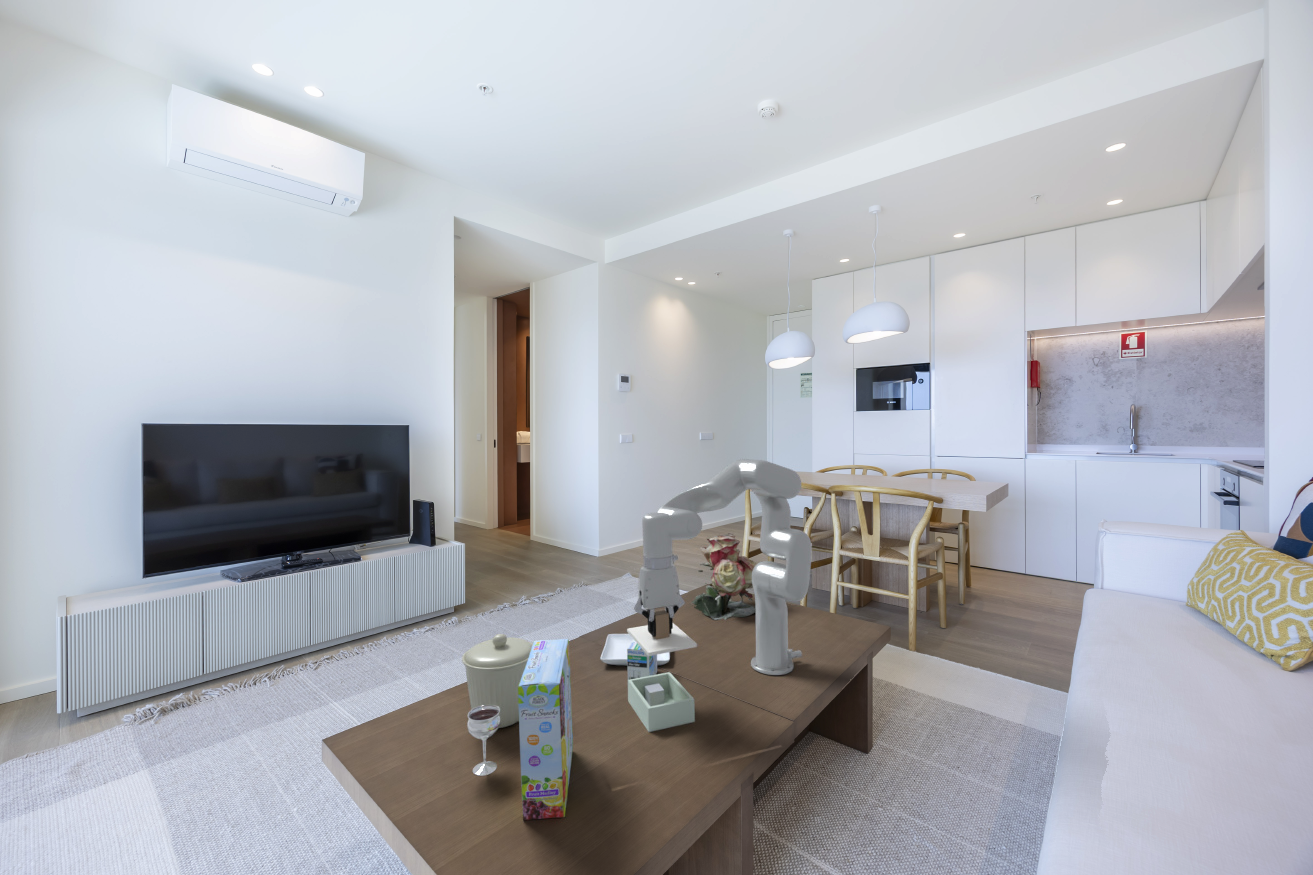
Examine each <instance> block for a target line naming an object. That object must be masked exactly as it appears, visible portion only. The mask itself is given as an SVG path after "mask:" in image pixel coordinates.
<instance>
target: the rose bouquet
mask: <svg viewBox="0 0 1313 875" xmlns="http://www.w3.org/2000/svg"><path fill="white" fill-rule="evenodd" d="M706 540H707V541H708V543H709V545H708V547H706V546H703V547H701V546H700V547H699V548H700V551H701V553H702V555H703V556H704V558H705V559H706V562H704V563H699V565H700V566H705V567H709V568H710V569H709V570H710V571H713V572H712V576H711V577H710V580H711V583H710V584H709V585H707V583H704V585H706V586H705V588H706V590H705V592H706V593H705V592H702V593H701V594H698V595H696V596H695V598H694V599H693V600H692V601H691V603H690V604H691V605H692V603H693V604H694V605H693V607H694V609H697V611H700V612H701V613H702V614H703V615H704V616H707V617H708V618H711V619H712V620H714V621H716V620H717V621H718V620H722V619H724V621H727V619H729V618H731V617H737V618H744V617H748V616H751V615H753V614H754V613H756V609H755V605H751V604H749V603H746V602H744V598H743V596H744V597H746V598H747V599H748V601H750V602H754V601H753V598H754V596H753V594H752V593H750V591H749V590H746V589H753V585H752V571H753V569H754V567H755V566H756V565H757V564H758V563H756V562H755V561H754V560H752V559H750V558H749V557H747V556H745V555H744V556H743V555H740V552H741V550H740V549H737V548H738V546H739V544H740V542H741V541H740V539H739V540H738V539H736V535H734V533H732V532H729V533H727V534H724V535H723V534H719V535H715V536H714V537H711V538H706ZM739 555H740V556H739ZM707 562H708V563H707ZM703 571H704V570H702V569H699V570H698V573H703ZM735 596H740V598H741V599H740V601H739V600H738V601H734V600H732V597H735ZM695 606H696V607H695ZM727 609H729V611H728V610H727Z"/></svg>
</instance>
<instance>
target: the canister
mask: <svg viewBox="0 0 1313 875" xmlns="http://www.w3.org/2000/svg"><path fill="white" fill-rule="evenodd" d="M532 645H533V642H531V641H528V640H526V639H524V638H520V637H510V636H509V637H508V636H507V635H505V634H504V633H498V634H495V635H494V636H493V638H491V639H487V640H484V641H482V642H479V643H477V644H475V645H473V646H471V648H469V649H468V650H466V651H465V652H464V653H463V655H462V657H461V662H462V664H463V665H464V668H465V676H466V683H467V690H468V696H469V703H470V711H471V710H472V709H474V708H476V707H479V706H483V705H495V706H497V707H499V709H500V712H499V716H500V719H501V720H500V725H499V728H498V729H502V728H506V727H510V726H513V725H515V724H516V723H519V707H518V686H519V684H520V681H521V678H522V675H523V672H524V669H525V667H526V664H527V661H528V658H529V655H530V652H531V648H532Z"/></svg>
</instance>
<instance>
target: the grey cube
mask: <svg viewBox="0 0 1313 875" xmlns="http://www.w3.org/2000/svg"><path fill="white" fill-rule="evenodd" d="M645 700H646V701H647V703H648V704H649V705H650V706H655V705H660V704H664V689H663V688H662V687H661V686H660V684H659V683H658V684H653V685H648V686H645Z"/></svg>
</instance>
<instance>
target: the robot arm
mask: <svg viewBox="0 0 1313 875" xmlns="http://www.w3.org/2000/svg"><path fill="white" fill-rule="evenodd" d="M748 490H751V491H752V492H753V494H754V495H755V496H756V497H757V499H758V501H759V503H760V506H761V525H760V539H759V549H760V551H761V553H762V554H763V555H766V556H767V557H769V558H770V557H771V558H773V559H777V560H782V561H786V562H785V564H784V563H779V562H776V561H771V560H764V561H760V562H758V563H756V564H757V565H756V566H755V567H754V569H753V571H752V585H753V588H752V589H753V594H754V604H755V605H754V606H755V609H756V612H755V656H754V657H752V659H751V661H750V666H751V667H752V669H753V670H754V671H756V672H759V673H761V674H763V675H769V676H782V675H787V674H790V673H791V672H793V670H794V662H793V660H794V659H797V658H798V659H799V658H801V657H803V656H802V655H803V653H802V651H801V650H800V649H799V650H793V648H789V637H788V636H789V633H788V632H789V629H788V628H789V627H788V626H789V625H788V622H789V621H788V620H789V618H788V616H789V614H788V613H789V612H788V606H787V602H786V600H787V601H790V602H799V601H802V600H803V599H804V598H805V597H807V596H806V595H807V593H808V591H809V587H810V580H811V579H810V577H811V566H812V557H813V556H812V554H813V553H812V552H813V549H812V548H813V546H812V541H811V538H810V537H809V535H808V534H807V533H806V532H805V531H803V530H800V529H795V528H791V515H792V514H791V507H790V504H789V502H788V500H790V499H794V498H795V497H797V496H798V495H799V493H801V490H802V480H801V477H800V475H799V474H798V472H796V471H795V470H793V469H791V468H787V467H785V466H783V465H779V464H776V463H773V462H771V461H768V460H767V461H766V460H763V459H746V458H744V459H743V458H742V459H741V458H740V459H736V460H735V461H732V462H731V463H730V464H729V465H727V466H726V467H725V468H724V469H722V470H721V471H720V472H719V473H717V474H716V475H714V476H713V477H711V479H709V480H708V481H706V482H705V483H702V484H700V485H696V486H694V487H692V488H689V489H688V490H685V491H682V492H679V493H678V494H677V495H674V497H671V499H669V500H668V501H666V502H665V503H663V505H661V506H660V507H659V508H658V509H657V510H656V512H650V513H646V514H644V515H643V518H642V521H641V522H642V528H641V529H642V549H643V550H642V551H643V556H642V557H643V558H642V559H643V566H641V567H640V569H639V574H638V585H637V586H638V587H637V602H636V603H635V605H634V607H633V610H634V612H636V613H637V614H640V615H642V616H643V617H645V619H647V625H648V632H649V633H650V634H651V635H652V636H653V637H656V622H655V620H654V612H655V611H656V609H660V608H662V609H663V608H664V610H665V611H666V612H667V613H669V634H671V633H672V632H671V629H673V623H674V621H673V619H674V617H675V614H677V611H678V610H680V608H682V607H683V606H684V605H685V604H686V602H685V600H684V598H683V597H682V595H681V592H680V583H679V577H678V572H677V568H676V565H675V562H676V561H678V560H679V557H678V555H677V554H674V553H673V552H674V551H673V550H674V548H673V543H674V542H673V541H676V540H677V541H678V540H679V541H680V540H682V541H686V540H687V541H688V540H692V539H695V538H696V537H697V536H699V535H700V533H701V531H702V529H703V520H702V518H701V516H700V515H699V513H705V512H707V513H708V512H713V511H717V510H721V509H724V508H726V507H727V506H729V505H730V504H731V503H733V501H735V500H736V499H737V498H738V497H740V496H741V494H743V493H744V492H745V491H748ZM642 607H643V608H642Z"/></svg>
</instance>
